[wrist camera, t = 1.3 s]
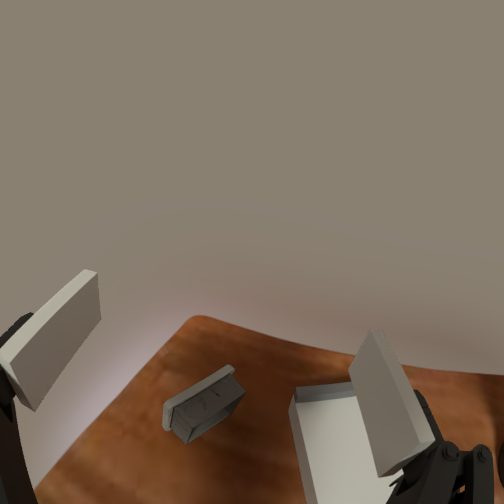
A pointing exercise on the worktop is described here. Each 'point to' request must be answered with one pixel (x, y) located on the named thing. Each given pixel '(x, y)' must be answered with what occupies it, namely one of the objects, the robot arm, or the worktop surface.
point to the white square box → (335, 447)
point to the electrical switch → (202, 405)
